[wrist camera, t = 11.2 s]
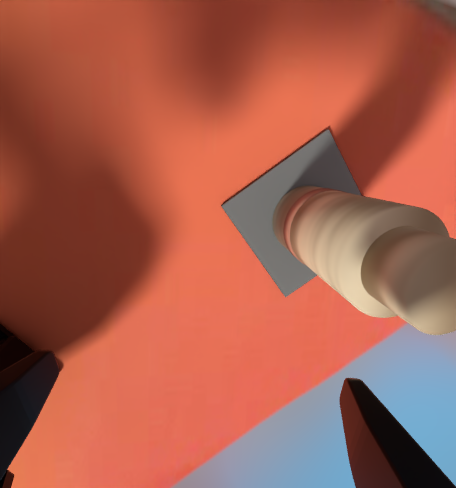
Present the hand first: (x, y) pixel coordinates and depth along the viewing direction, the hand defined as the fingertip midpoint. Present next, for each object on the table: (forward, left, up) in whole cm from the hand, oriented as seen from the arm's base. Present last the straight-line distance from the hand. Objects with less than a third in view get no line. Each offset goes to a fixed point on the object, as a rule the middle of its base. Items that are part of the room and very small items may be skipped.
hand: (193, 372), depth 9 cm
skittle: (+8, -3, -12) cm, 15 cm away
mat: (+8, -3, -12) cm, 15 cm away
